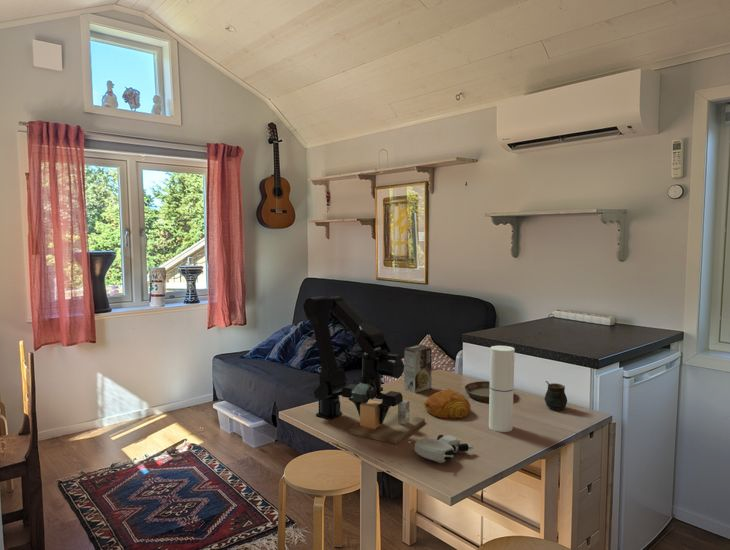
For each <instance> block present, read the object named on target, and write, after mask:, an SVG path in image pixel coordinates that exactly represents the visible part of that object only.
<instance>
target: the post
mask: <svg viewBox="0 0 730 550" xmlns="http://www.w3.org/2000/svg"><path fill="white" fill-rule="evenodd" d="M397 413H398V424H401V425H407V424H408V423H409V416H410V400H407V399H403V401H402V402H401V403H399V404H398V405H397Z"/></svg>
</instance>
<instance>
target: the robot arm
mask: <svg viewBox="0 0 730 550" xmlns="http://www.w3.org/2000/svg"><path fill="white" fill-rule="evenodd" d="M303 311H304V314H305V317H306V319H307V321H309V323H310V324H311V325H312V327H313V332H314V336H315V341H316V345H317V350H318V351H317V352H318V355H319V360H320V365H321V370H320V374H319V376H318V377H319V380H318V381H319V385H318V387H316V389H315V390H314V391H313V395H314V399H317V400H318V412H317V413H315V416H317V417H319V418H320V417H321V418H325V419H330V420H332V419H335V418H337V417H338V416H340V415H342V414H343V411H341V401H340V396H341V397H343V398H346V399H347V398H348V401H351V403H353V404H354V405H355V407H356V410H357V412H358V416H359V417H360V404H362V403H367V402H368V400H374V399H375V400H376V399H377V400H381V402H382V403H380V404H379V405H378V406H379V408H380V417H379V421H380V424H382V423H383V421H384V419H385V416H386V414H387V412H388V411H389V409H390V408H391V407H396V406H398V404H399V403H401V402H402V401H403V400H404V399H403V397H404V396H403V394H402V392H399V391H395V390H394V391H393V390H390V391H388V392H386V393H383V391H384V387H383V386H382V379H383V378H384V376H386V377H388V378H392V379H393V378H394V379H400V378H401V377H402V375H404V360H402V359H401V355H400V354H393V353H392V350H391V348H390V347H389V344H388V343H387V341H386V340H385V336H384V333H383V332H382V331H380V330H379V329H377V328H376V327H375V326H373V325H369V324H368V323H366V322H365V321H364V320H363V319H362V318H361V317H360V316H359V315H358V314H357V313H356V312H355V311H354V310H353V309H352V308H351V307H350V306H349V305H348V304H347V303H346V302H345V300H344V299H343V297H341V296H338V295H337V296H330V297H328V298H327V297H325V296H314V297H308V298H306V299H305V300H304V303H303ZM331 312H332V313H333V314H334V315H335V316H336V317H337V318H338V319H339V320H340V321H341V322H342V323H343V324H344V326H346V327H347V329H348V330H349V331H350V332H351V333H352V334H353V336H354V341H355V343H357V345H358V347H359V348H360V351H359V352H358V353H356V356H357V357H359V358H362V360H361V363H362V365H361V366H362V371H361V372H362V373H361V374H362V375H361V376H360V377H359V382H358V384H353V383H350V384H347V381H348V378H347V376H346V370H345V369H344V368H340V367H339V365H338V363H337V360H336V355H335V350H334V345H333V341H332V336H331V331H330V327H329V319H330V315H331Z"/></svg>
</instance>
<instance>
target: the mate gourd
mask: <svg viewBox="0 0 730 550" xmlns="http://www.w3.org/2000/svg"><path fill="white" fill-rule="evenodd" d="M545 382H546V384H547V390H546V393H545V394H544V402H545V405H546V406H547V408H549V409H550V410H552V411H563V410H564V409H565V408H566V407H567V404H568V399H567V398H568V397H567V394H566V393H565V390H566V389H565V388H566V386H565V385H563V384H561V383H557V382H556V383H555V382H554V383H553V382H552V383H549V382H548V381H547V380H545Z"/></svg>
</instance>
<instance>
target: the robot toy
mask: <svg viewBox="0 0 730 550" xmlns="http://www.w3.org/2000/svg"><path fill="white" fill-rule="evenodd" d="M407 443H409V444H414V452H416V454H417V455H418V456H420V457H422V458H425V459H427V460H430V461H434V462H436V463H438V464H443V463H446V461H450V460H452V459H453V458H454V457H455V453H457V452H458V451H460V452H468V451H469V450H473V449H474V446H473V445H471V444H468V443H461V439H460V438H458V437H455V436H452V435H446V434H445V435H443V434H438V436H437V438H432V437H423V438H421V439H417V440H416V441H408V442H407Z"/></svg>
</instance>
